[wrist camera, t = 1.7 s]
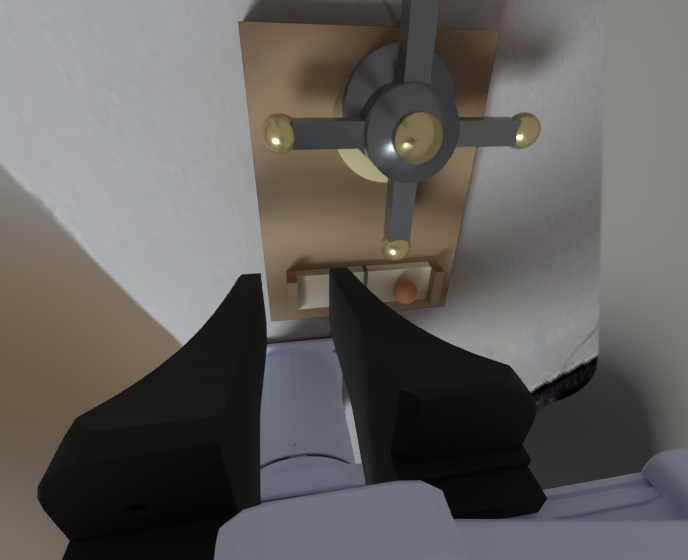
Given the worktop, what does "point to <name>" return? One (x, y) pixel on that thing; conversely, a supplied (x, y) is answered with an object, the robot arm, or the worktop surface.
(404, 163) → the capstan
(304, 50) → the valve wheel board
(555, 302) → the worktop surface
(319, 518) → the robot arm
